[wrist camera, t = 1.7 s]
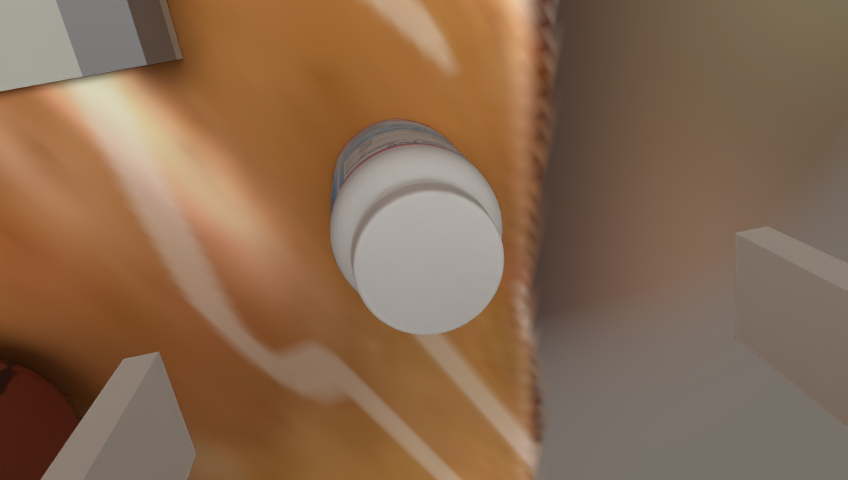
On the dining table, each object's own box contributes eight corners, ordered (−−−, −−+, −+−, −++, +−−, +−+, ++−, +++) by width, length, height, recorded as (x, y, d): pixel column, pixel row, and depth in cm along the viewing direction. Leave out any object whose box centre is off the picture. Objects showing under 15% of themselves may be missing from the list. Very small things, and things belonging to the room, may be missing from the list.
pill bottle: (431, 258, 30) (479, 381, 20) (314, 216, 29) (297, 323, 18) (482, 145, 29) (564, 212, 18) (361, 94, 27) (371, 135, 17)
